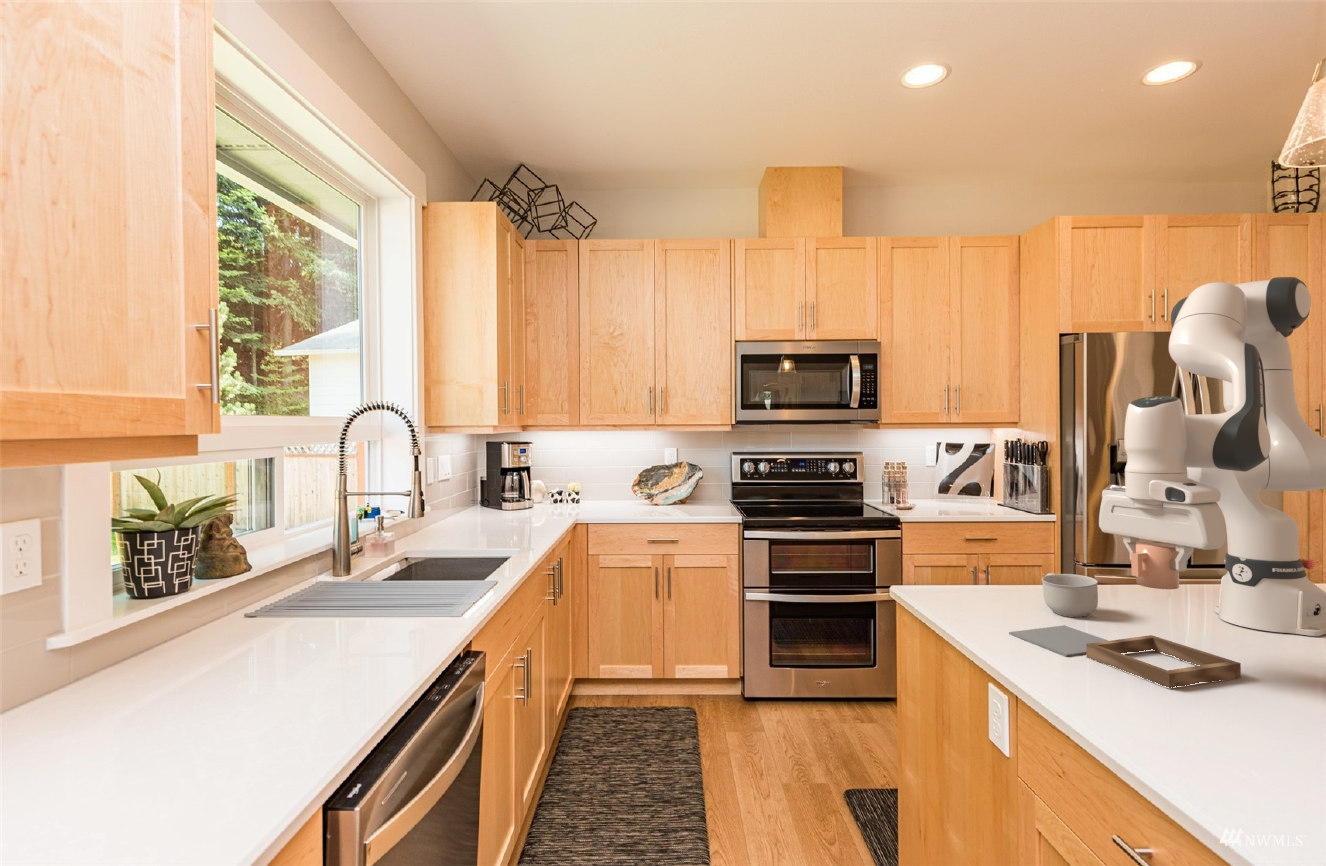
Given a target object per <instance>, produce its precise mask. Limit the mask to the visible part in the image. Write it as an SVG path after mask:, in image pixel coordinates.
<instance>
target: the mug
mask: <svg viewBox="0 0 1326 866" xmlns="http://www.w3.org/2000/svg"><path fill="white" fill-rule="evenodd" d="M1178 554H1179V552H1178V551H1176V545H1174V544H1168V543H1162V542H1148V541H1147V542H1136V552H1134V553H1131V561H1130V562H1131V563H1130V564H1131V576H1133V577H1135V578H1136V580H1135V581H1136V584H1137V585H1139V586H1141V587H1144V588H1148V589H1149V588H1150V589H1158V590H1177V589H1179V588H1180V571H1175V570H1171V568H1170V566H1171V564H1170V560H1175V559H1176V557H1177V556H1178Z"/></svg>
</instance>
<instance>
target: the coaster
mask: <svg viewBox="0 0 1326 866" xmlns="http://www.w3.org/2000/svg"><path fill="white" fill-rule="evenodd" d="M1008 634H1009V635H1010V634H1011V636H1013V637H1016V638H1018V639H1021V640H1023V641H1025V642H1028V643H1031V644H1033V645H1036V646H1038V647H1041V648H1043V649H1046V650H1048V651H1051V652H1053V653H1055V654H1058V655H1061V656H1063V657H1065V658H1066V657H1074V655H1076V656H1082V655H1087V654H1086V644H1089V643H1096V642H1104V641H1109V640H1108V639H1105V638H1102V637H1100V636H1096V635H1094V634H1090V633H1088V632H1085V631H1082V630H1080V629H1076V628H1073V627H1070V626H1067V625H1057V626H1049V627H1040V628H1031V629H1024V630H1016V631H1014V630H1013V631H1009V632H1008Z"/></svg>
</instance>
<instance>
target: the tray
mask: <svg viewBox="0 0 1326 866" xmlns="http://www.w3.org/2000/svg"><path fill="white" fill-rule="evenodd" d="M1151 649H1153V650H1155V651H1158V652H1163V653H1165V654H1168V655H1172V656H1175V657H1176V658H1179V659H1182V660H1184V661H1187V662H1191V663H1193V664H1196V665H1200V666H1196V665H1193V664H1192V665H1193V666H1187V667H1181V668H1175V669H1169V670H1167V669H1165V668H1161V667H1159V666H1156V665H1154V664H1150V663H1148V662H1146V661H1143V660H1139V659H1137V658H1134V657H1131V656H1128V655H1123V654H1121V653H1127V652H1139V651H1144V650H1145V651H1146V650H1151ZM1155 651H1154V652H1155ZM1158 652H1157V653H1158ZM1085 655H1086V659H1087V658H1088V659H1090V658H1091V659H1090V660H1092V659H1093V661H1095V660H1096V662H1097V663H1100V662H1102V663H1101V664H1103V663H1104V664H1103V665H1105V664H1106V666H1108V665H1111V666H1114V667H1116V668H1118V669H1121V670H1124V671H1126V672H1129V673H1132V674H1134V675H1137V676H1140V677H1142V678H1144V679H1148V680H1150V681H1152V682H1156V683H1158V684H1160V685H1162V686H1166V687H1169V688H1171V687H1172V688H1173V687H1175V686H1176V687H1177V686H1185V685H1186V686H1187V685H1190V684H1195V683H1199V682H1212V681H1218V682H1223V681H1222V680H1225V681H1230V680H1229V679H1231V680H1237V679H1241V678H1242V669H1241V668H1242V667H1241V665H1242V664H1241V662H1239V661H1235V660H1231V659H1228V658H1225V657H1222V656H1219V655H1215V654H1212V653H1209V652H1206V651H1203V650H1200V649H1197V648H1193V647H1191V646H1187V645H1184V644H1180V643H1177V642H1174V641H1172V640H1168V639H1165V638H1161V637H1159V636H1156V635H1152V634H1149V635H1143V636H1142V635H1141V636H1136V637H1135V636H1134V637H1128V638H1121V639H1113V640H1108V641H1104V642H1096V643H1089V644H1086V654H1085ZM1184 661H1183V662H1184ZM1187 662H1186V663H1187ZM1111 666H1110V667H1111ZM1116 668H1115V669H1116ZM1118 669H1117V670H1118ZM1121 670H1120V671H1121ZM1124 671H1123V672H1124ZM1126 672H1125V673H1126ZM1129 673H1128V674H1129ZM1134 675H1133V676H1134ZM1142 678H1141V679H1142ZM1144 679H1143V680H1144ZM1219 680H1221V681H1219ZM1152 682H1151V683H1152ZM1212 683H1213V682H1212ZM1160 685H1159V686H1160ZM1162 686H1161V687H1162ZM1187 687H1188V686H1187Z"/></svg>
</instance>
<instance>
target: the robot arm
mask: <svg viewBox="0 0 1326 866" xmlns="http://www.w3.org/2000/svg"><path fill="white" fill-rule="evenodd" d="M1311 308H1312V297H1311V293H1310V291H1309V290H1308V287H1307V285H1306V283H1304V282H1303V280H1301V279H1299V278H1298V277H1297V276H1296V277H1294V276H1279V277H1273V278H1271V279H1262V280H1255V281H1249V282H1242V283H1235V284H1233V283H1229V282H1222V281H1215V282H1208V283H1205V284H1202V285H1200V286H1198V287H1196V288H1195V289H1194V290H1192V291H1191V292H1190V293H1189V295H1188V296H1186V297H1184V298H1182V299H1180V300H1178V302H1176V304H1174V306H1173V307H1172V310H1171V313H1170V324H1171V328H1172V330H1171V332H1170V336H1169V340H1168V353H1169V355H1170V358H1171V360H1172V361H1173V362H1174V363H1175V364H1176V365H1177V366H1178V367H1180V368H1181V369H1182V370H1185V371H1186V372H1189V373H1190V374H1194V375H1197V376H1201V377H1205V378H1213V379H1218V380H1221V381H1222V395H1223V396H1222V398H1223V408H1224V410H1225V412H1221V413H1208V414H1206V413H1203V414H1202V413H1201V414H1198V413H1197V414H1185V413H1184V407H1183V403H1182V400H1181V398H1178V397H1176V396H1172V395H1158V396H1157V395H1156V396H1155V395H1154V396H1148V397H1140V398H1137V399H1134V400H1132V401H1131V402H1129V404H1128V405H1127V410H1126V413H1125V420H1124V438H1123V439H1124V440H1123V441H1124V442H1123V443H1124V444H1123V446H1124V447H1123V448H1124V450H1125V453H1126V458H1127V459H1126V465H1125V468H1124V485H1123V484H1122V485H1118V484H1109V485H1108V486H1106V487H1105V488H1104V489H1103V490H1102V492H1101V503H1100V508H1099V515H1098V517H1099V518H1098V527H1099V528H1100V530H1101V532H1102V533H1105V534H1110V535H1111V534H1112V535H1116V536H1121V537H1122V539H1123V540H1122V542H1123V544H1124V546H1125V548H1126V549H1127V551H1128V553H1129V560H1130V562H1131V553H1134V552H1136V543H1140V540H1145V541H1150V542H1151V541H1152V542H1156V543H1164V544H1171V545H1175V546H1176V551H1178V556H1177V557H1176V559H1175V560H1170V564H1171V566H1170V568H1171V570H1175V571H1179V573H1180V572H1186V571H1187V570H1188V569H1187V567H1188V566H1187V564H1188V563H1187V562H1188V560H1189V559H1190V557H1191V556H1192V555H1193V554H1194V552H1195V549H1199V550H1203V551H1207V550H1209V551H1211V550H1217V549H1220V548H1222V547H1223V546H1224V544H1225V543H1226V538H1227V552H1225V557H1224V561H1223V562H1224V565H1225V566H1224V568H1225V570H1226V571H1227V572H1226V574H1224V575H1223V576H1222V577H1221V582H1220V591H1219V602H1218V603H1219V604H1218V605H1217V606H1214V609H1213V610H1214V612H1215V613H1216V614H1218V618H1219V619H1221V620H1222V621H1224V622H1227V623H1230V624H1232V625H1235V626H1236V625H1237V626H1239V627H1245V628H1249V629H1254V630H1259V631H1266V632H1273V633H1286V634H1296V635H1304V636H1310V637H1320V636H1323V635H1326V592H1325V590H1324V589H1323V590H1322V589H1321V588H1320V587H1319V586H1317V585H1316V584H1315V583H1314V582H1313V581H1311V580H1310V579H1309V578H1308V577H1307V573H1306V570H1314V568H1315V565H1316V563H1315V561H1314V559H1305V558H1303V557H1302V558H1300V551H1299V549H1300V548H1299V546H1300V544H1299V543H1300V542H1299V525H1298V523H1297V522H1296V520H1295V519H1294V518H1293V517H1292V516H1291V515H1289V514H1287V513H1286V512H1285V511H1281V510H1279V509H1277V508H1275V507H1272V506H1269V505H1267V504H1265V503H1263V502H1262V500H1261V498H1260V492H1263V491H1266V492H1267V491H1268V492H1269V491H1270V492H1308V491H1309V492H1310V491H1311V492H1312V491H1318V490H1326V438H1324V437H1322V436H1321V435H1320V434H1318V433H1317V432H1315V431H1314V430H1313V429H1312V428H1311V427H1310V426H1309V424H1308V423H1306V422H1305V420H1304V418H1303V416H1302V415H1301V412H1300V411H1299V407H1298V405H1297V400H1296V394H1295V387H1294V386H1295V385H1294V376H1293V375H1294V374H1293V373H1294V371H1293V359H1292V355H1291V349H1290V344H1289V342H1288V337H1290V336H1292V334H1293V333H1294V330H1296V329H1297V328H1299V327H1300V326H1302V324H1304V322H1306V320H1307V318H1308V317H1309V315H1310V311H1311Z"/></svg>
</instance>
